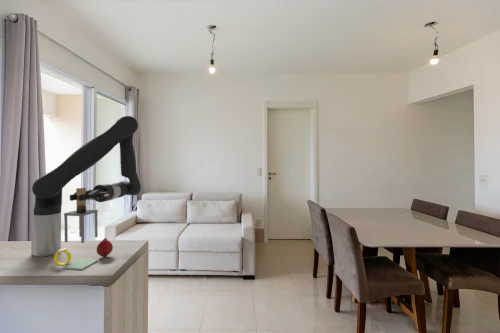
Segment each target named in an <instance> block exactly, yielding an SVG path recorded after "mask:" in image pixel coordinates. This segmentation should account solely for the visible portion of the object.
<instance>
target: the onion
mask: <svg viewBox="0 0 500 333" xmlns="http://www.w3.org/2000/svg"><path fill="white" fill-rule="evenodd" d="M113 248H114V246H113V243H112V242H111V241H109V240H108V238H107V237H105V238H103V239H102V240H101V241H99V243H98V245H97V246H96V253H97V255H99V256H100V257H103V258H106V257H107V256H109V255H110V254H111V253H112V251H113V250H114V249H113Z"/></svg>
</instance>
